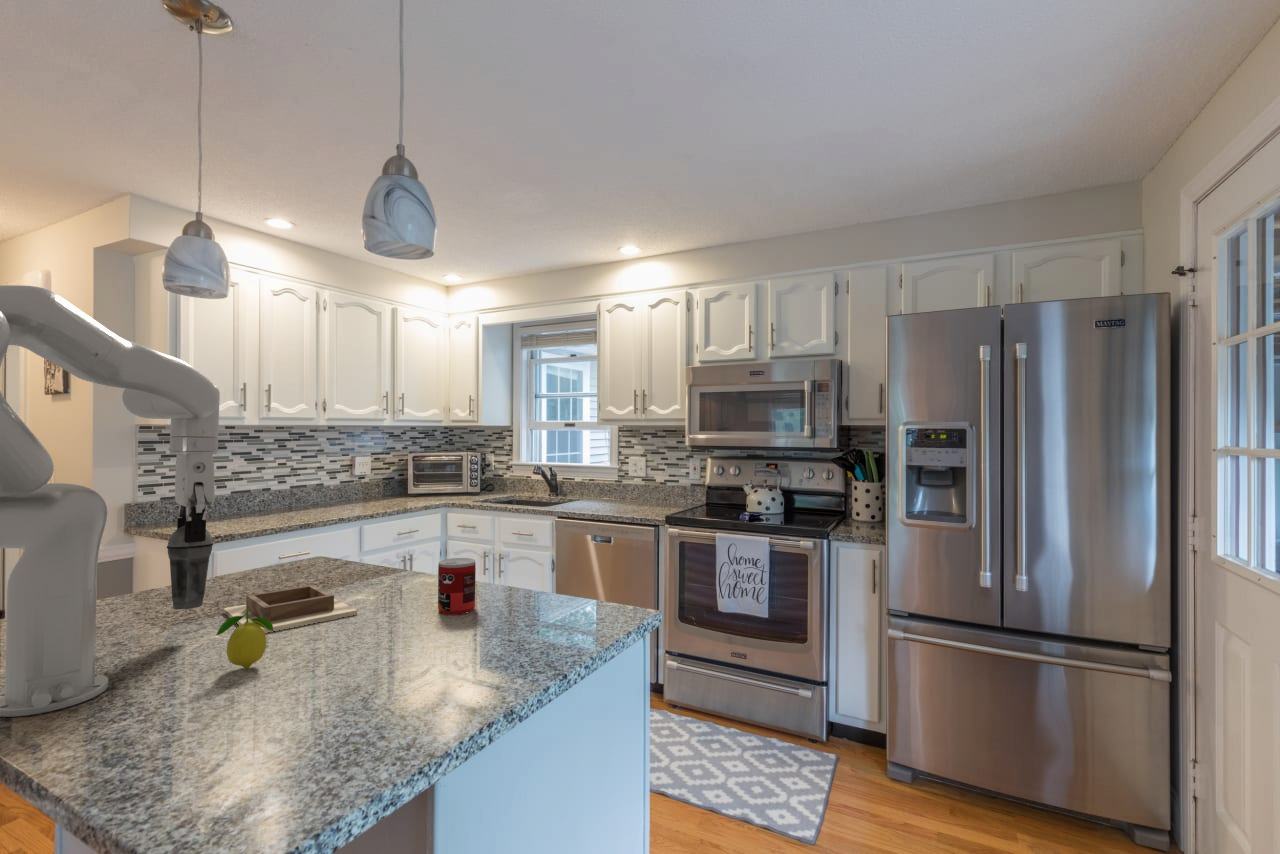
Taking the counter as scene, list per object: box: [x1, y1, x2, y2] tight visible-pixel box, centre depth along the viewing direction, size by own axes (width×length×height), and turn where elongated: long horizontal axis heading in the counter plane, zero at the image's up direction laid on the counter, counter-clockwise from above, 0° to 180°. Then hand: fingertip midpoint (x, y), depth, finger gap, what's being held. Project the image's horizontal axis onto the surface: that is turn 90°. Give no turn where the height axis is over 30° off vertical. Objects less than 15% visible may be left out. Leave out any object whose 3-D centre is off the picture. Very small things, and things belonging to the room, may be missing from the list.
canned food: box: [437, 557, 477, 615], centre depth 135 cm, size 8×8×11 cm
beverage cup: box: [166, 510, 214, 610], centre depth 116 cm, size 7×7×20 cm
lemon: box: [215, 608, 274, 670], centre depth 101 cm, size 7×6×10 cm
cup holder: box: [222, 584, 358, 634], centre depth 132 cm, size 22×20×4 cm
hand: (190, 539), depth 116 cm, fingers closed on beverage cup, 6 cm apart
